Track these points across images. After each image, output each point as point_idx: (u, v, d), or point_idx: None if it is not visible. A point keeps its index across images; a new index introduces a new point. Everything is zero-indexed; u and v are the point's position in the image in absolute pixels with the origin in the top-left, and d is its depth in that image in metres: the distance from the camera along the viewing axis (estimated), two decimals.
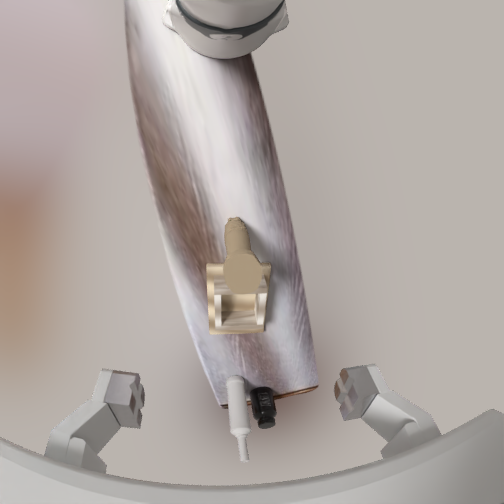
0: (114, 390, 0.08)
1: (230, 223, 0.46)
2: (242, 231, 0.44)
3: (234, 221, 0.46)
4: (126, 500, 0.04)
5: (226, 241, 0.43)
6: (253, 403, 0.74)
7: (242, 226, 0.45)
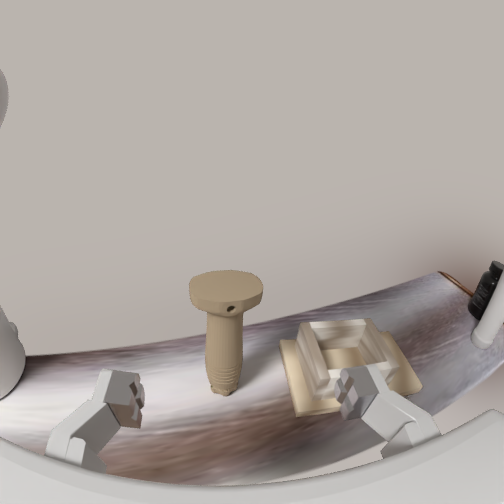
0: (114, 390, 0.08)
1: (209, 378, 0.29)
2: None
3: (207, 375, 0.30)
4: (126, 500, 0.04)
5: (218, 359, 0.27)
6: None
7: None
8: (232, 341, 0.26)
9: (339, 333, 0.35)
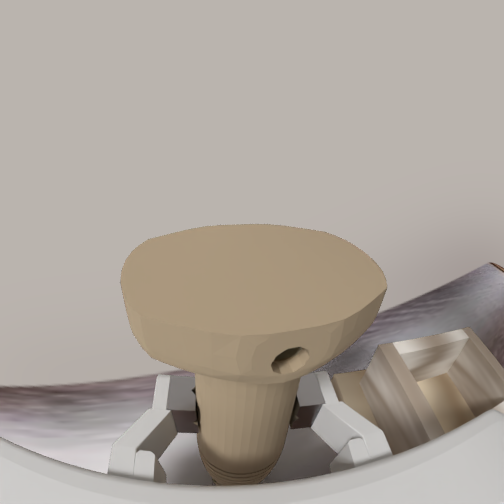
0: (176, 396, 0.08)
1: (208, 472, 0.11)
2: None
3: None
4: (126, 500, 0.04)
5: (229, 460, 0.09)
6: None
7: None
8: (271, 429, 0.08)
9: (433, 356, 0.18)
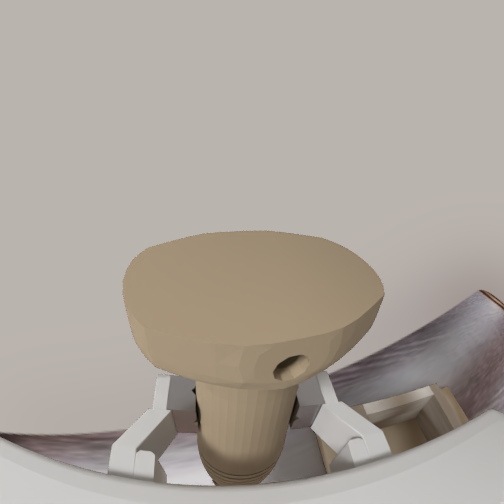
0: (176, 396, 0.08)
1: (209, 474, 0.11)
2: None
3: None
4: (126, 500, 0.04)
5: (230, 462, 0.09)
6: None
7: None
8: (272, 432, 0.08)
9: (399, 411, 0.21)
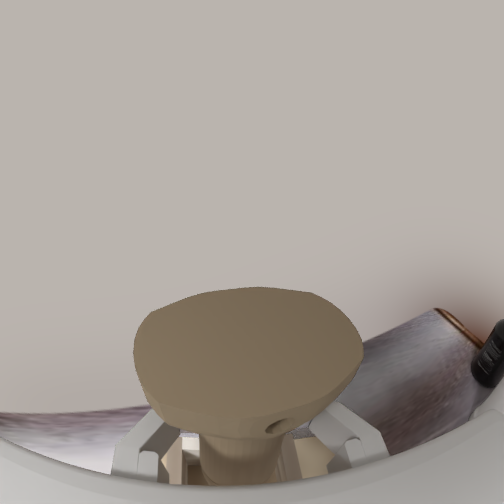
0: None
1: None
2: None
3: None
4: (126, 500, 0.04)
5: (230, 480, 0.09)
6: None
7: None
8: (266, 457, 0.09)
9: None
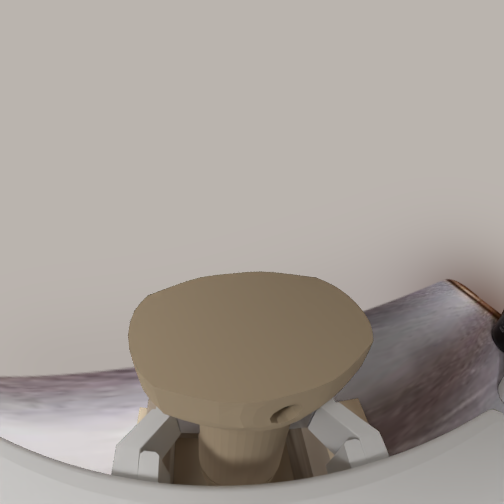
0: None
1: None
2: None
3: None
4: (126, 500, 0.04)
5: (231, 479, 0.09)
6: None
7: None
8: (269, 454, 0.08)
9: None
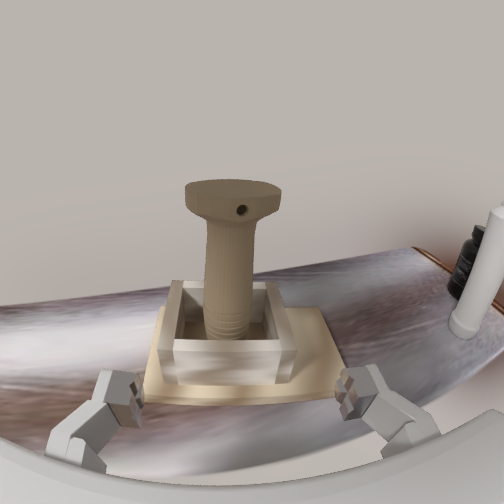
0: (114, 390, 0.08)
1: (208, 333, 0.23)
2: None
3: (206, 331, 0.24)
4: (126, 500, 0.04)
5: (221, 299, 0.21)
6: None
7: None
8: (241, 269, 0.20)
9: None
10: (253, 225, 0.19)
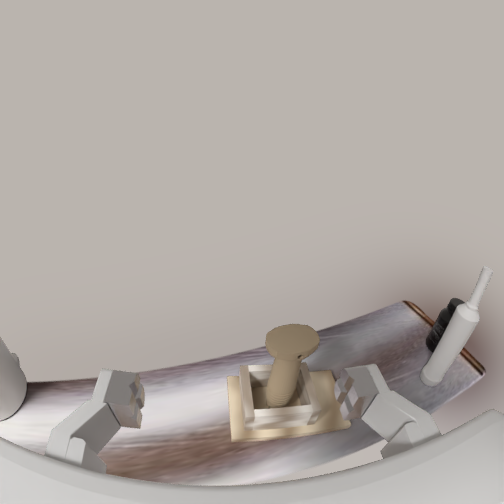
0: (114, 390, 0.08)
1: (269, 401, 0.37)
2: (268, 380, 0.37)
3: (266, 399, 0.37)
4: (126, 500, 0.04)
5: (281, 388, 0.34)
6: None
7: None
8: (294, 375, 0.33)
9: None
10: None
